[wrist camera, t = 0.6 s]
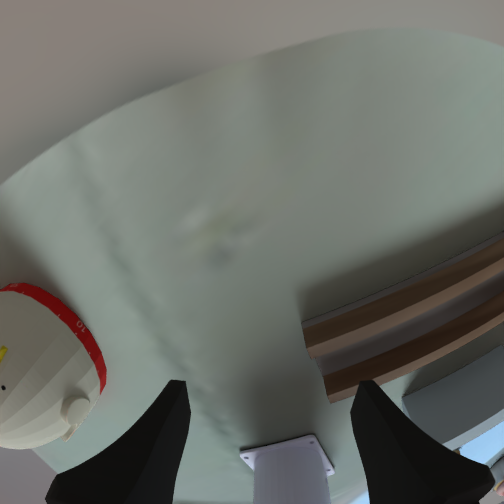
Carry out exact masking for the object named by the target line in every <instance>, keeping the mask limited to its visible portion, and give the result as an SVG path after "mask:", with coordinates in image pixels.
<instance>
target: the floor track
mask: <svg viewBox="0 0 504 504" xmlns="http://www.w3.org/2000/svg"><path fill="white" fill-rule="evenodd" d="M503 321H504V231H503V232H501V233H499V234H497V235H496V236H494V237H492V238H490V239H488V240H486V241H484V242H483V243H481V244H479V245H477V246H475V247H473V248H471V249H469V250H467V251H465V252H463V253H461V254H459V255H457V256H455V257H453V258H451V259H449V260H447V261H445V262H443V263H441V264H439V265H437V266H435V267H433V268H431V269H429V270H426V271H424V272H422V273H420V274H418V275H416V276H413V277H411V278H409V279H407V280H405V281H402V282H400V283H398V284H396V285H393V286H391V287H389V288H387V289H384V290H382V291H380V292H377V293H375V294H373V295H370V296H368V297H365V298H363V299H361V300H358V301H356V302H353V303H351V304H348V305H346V306H343V307H341V308H338V309H336V310H333V311H331V312H328V313H326V314H323V315H320V316H318V317H315V318H312V319H310V320H307V321H304V322H302V323H301V324H302V329H303V334H304V339H305V343H306V348H307V351H308V353H309V355H310V358H311V359H313V358H315V359H316V361H317V364H318V366H319V369H320V371H321V373H322V376H323V379H324V384H325V388H326V392H327V396H328V399H329V401H330V403H334V402H337V401H340V400H343V399H346V398H348V397H351V396H354V395H356V392H357V389H358V386H359V382H360V381H365V380H374V381H375V382H376V383H377V384H378V386H379V385H382V384H384V383H387V382H389V381H391V380H394V379H396V378H398V377H401V376H403V375H405V374H407V373H410V372H412V371H414V370H416V369H418V368H420V367H422V366H424V365H427V364H429V363H431V362H433V361H435V360H437V359H439V358H441V357H443V356H444V355H446V354H448V353H450V352H452V351H454V350H456V349H458V348H459V347H461V346H463V345H465V344H467V343H468V342H470V341H472V340H474V339H475V338H477V337H479V336H481V335H482V334H484V333H486V332H487V331H489V330H491V329H492V328H494V327H495V326H497V325H499V324H500V323H502V322H503Z"/></svg>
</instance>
